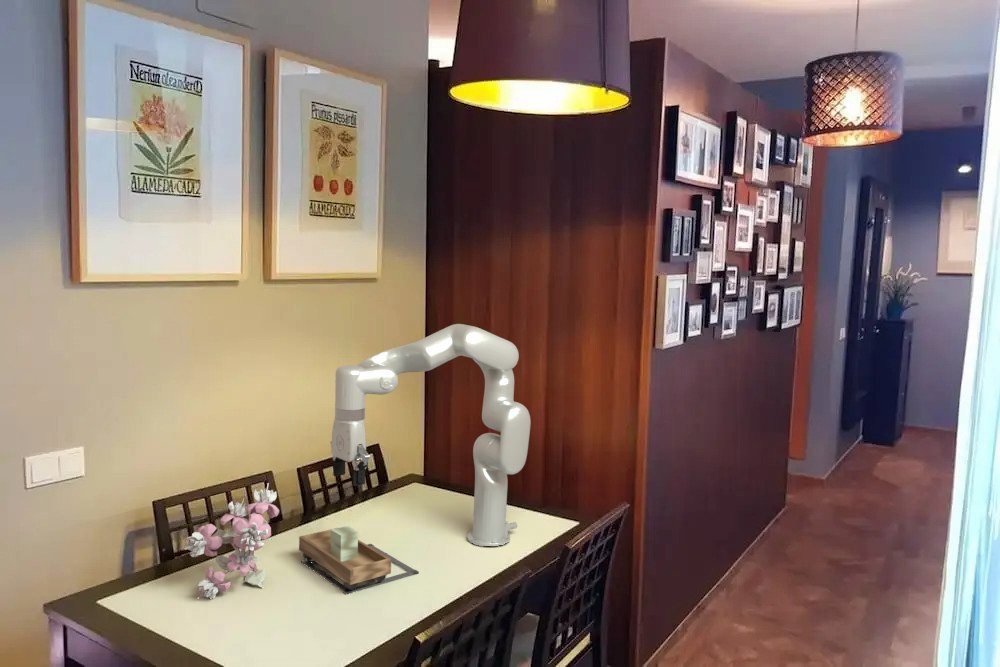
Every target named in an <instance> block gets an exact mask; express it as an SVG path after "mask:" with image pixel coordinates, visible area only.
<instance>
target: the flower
mask: <svg viewBox="0 0 1000 667" xmlns="http://www.w3.org/2000/svg"><path fill="white" fill-rule="evenodd" d="M266 484H267V486H266V488H264V489H262V488H261V489H260V490H259V491H257V489H256V488H255V489H254V492H253V499H254V500H255V501H256V502H254V503H250V504H247V505H246V503H244V501H245V497H243V498H242V501H241V503H240V502H238V501H237V502H235V505H234V502H233V501H230V502H229V503H228V506H227V508H228V510H229V513H225V514H224V515H222V516H221V518H220V525H221V526H225V525H226V524H227V523H228V522H229V521H231V520H232V524H231V527H230V529H229V530H227V531H226V530H223V529H221V528H219V529H218V530H217V527H216V526H215V525H214V524H212V523H209V524H208V523H207V524H205V525H202V526H200V527H198V528H197V531H194V532H193V533H192V534H191V536H188V537H185V538H186V540H189V541H186V544H187V545H185V547H184V548H182V549H183V550H185V551H190V552H189V555H190V556H191V557H192V558H197V557H199V556H201V555H203V554H204V555H205V556H207V557H215V556H216V557H215V565H217V566H218V567H219V568H220V569H222V570H221V571H220V570H219V571H215V572H213V569H214V566H210V567H208V568H207V569H206V570H205V578H206V579H203V580H201V581H199V583H198V588H197V589H198V590H197V591H198V592H199V593H198V594H202V595H203V598H205V597H206V598H208V599H209V598H211V599H210V600H213V599H214V598H213V597H215V598H216V594H218V592H219V591H220V592H226V591H230V588H231V585H232V582H231V581H229V582H224V579H225V577H226V574H227V573H229V572H230V573H233V572H236V571H239V576H244V581H245V582H246V583H249V584H251V585H252V586H259V587H260V588H261V587H264V585H263V582H264V580H265V579H266V578H267V573H268V570H267V569H260V570H259V568H257V563H256V562H257V561H259V560H260V558H259V557H257V556H255V551H258V550H259V549H262V548H263V546H265V543H264V542H262V540H263V541H264V540H268V539H269V538H270V537H271V536H272V527H271V526H270V524H269V522H268V521H267V520H265V518H264V517H263V514H264V513H265V512H266V513H267V514H266V515H267V517H268V518H269V519H273V518H276V517H277V516H278V515H279V514H280V509H279V508H278V507H277V506H276V505H274V504H272V503H273V502H275V501H276V499H277V496H278V495H277V491H274V489H271V490H269V484H270V483H269V482H268V483H266ZM243 504H244V505H243ZM250 513H251V514H250ZM246 516H249V519H248V518H245V517H246ZM216 530H217V531H216ZM223 544H225V545H226V544H230V545H231V546H232V547H233V549H234V551H233V552H232V553H231V554H230V555H228V557H227V556H224V555H222V554H221V555H218V551H216V550H218V549H219V548H220V547H221V546H222V545H223ZM246 548H248V549H246ZM213 550H214V551H213ZM223 571H225V573H224V572H223ZM245 582H244V583H245ZM212 598H213V599H212ZM199 599H200V596H199V597H197V600H199Z"/></svg>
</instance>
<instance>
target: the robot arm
mask: <svg viewBox="0 0 1000 667" xmlns="http://www.w3.org/2000/svg"><path fill="white" fill-rule="evenodd" d="M460 356H463V357H467V358H470V359H472V360H473V361H474V362H475V363H476V364H477V366H479V368H480V369H481V371H482V373H483V376H484V393H483V401H482V409H481V411H482V412H481V419H482V422H483V424H484V425H485V426H486V427H487V428H488V429H491V430H494V431H496V432H499V433H500V434H498V433H493V432H487V433H483V434H481V435H480V436H478V437H477V438H476V440H475V441H474V443H473V449H472V456H473V458H472V459H473V464H474V494H473V496H474V498H473V499H474V500H473V520H472V526H473V527H472V530H470V531H469V532H467V538H466V539H467V541H468V542H469V543H471V544H472V543H473V545H474V546H475V545H476V546H478V545H479V547H483V546H497V545H502V544H504V543H506V542H508V541H509V540H510V541H511V535H510V533H509V531H511V530H512V531H513V530H514V529H517V528H518V523H517V522H516V521H513V522H508V521H507V502H508V501H507V500H508V483H509V482H508V475H515V474H518V473H519V472H520V471H522V469H523V468H524V466H525V464H526V461H527V456H528V452H529V451H528V450H529V443H530V434H531V433H530V432H531V415H530V411H529V410H528V408H527V407H526V406H525V405H524V404H522V403H520V402H517V401H514V398H515V397H514V392H515V374H514V371H513V368H515V367H516V365H518V362H519V356H520V354H519V350H518V348H517V346H516V345H515V344H514V343H513V342H512V341H510V340H507V339H505V338H502V337H500V336H498V335H496V334H493V333H491V332H490V331H487V330H484V329H482V328H479V327H477V326H473V325H467V324H464V323H463V324H462V323H456V324H451V325H449V326H446V327H445V328H443V329H440V330H438V331H436V332H434V333H432V334H430V335H428V336H426V337H424V338H421V339H418V340H417V341H414V342H411V343H407V344H403V345H401V346H396V347H392V348H390V349H386V350H384V351H381V352H378V353H376V354H374V355H373V356H372V355H371V356H370V357H367V358H366V359H364V360H362V361H361V362H360V363H358V364H357V365H342V366H338V368H336V370H335V380H334V381H335V382H334V383H335V388H334V389H335V396H334V399H335V400H334V401H335V402H334V419H333V424H332V433H331V440H330V446H331V447H330V449H331V451H330V452H331V454H332V461H333V466H332V467H333V469H332V470H333V471H332V472H333V476H334V477H340V476H344V475H345V474H346V463H350V462H352V465H353V468H354V469H353V471H352V486H354V487H356V486H362V485H365V484H366V470H367V466H369V465H368V464H369V460H370V454H369V452H368V451H367V437H366V436H367V435H366V425H365V421H366V395H377V396H379V395H384V396H385V395H388V394H390V393H393V391H395V390H396V389H397V386H398V384H399V376H398V375H399V374H405V373H423V372H428V371H431V370H434V369H435V368H437V367H440V366H441V365H443V364H445V363H447V362H450V361H451V360H453V359H455V358H457V357H460Z"/></svg>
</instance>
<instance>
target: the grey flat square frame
mask: <svg viewBox="0 0 1000 667" xmlns="http://www.w3.org/2000/svg"><path fill="white" fill-rule="evenodd" d="M367 545H368V546H370V547H372V548H373V549H375V550H377V551H378V552H380V553H382V554H384V555H385V556H387V557H389V558H390V559H391V564H394V565H395V566H397V567H399V568H400V569H402V570H404V571H406V572H403V573H399V574H396V575H393V576H389V577H385V579H384V580H383V581H381V582H378V581H377V580H375V581H370V582H368V583H364V584H361V585H358V586H357V587H356V588H355V589H353V590H350V589H348V588H347V587H346V586H345V584H344V583H342V582H340V581H339V580H338V579H336V578H335V577H333V576H331V575H330V574H329V573H327V572H326V571H324V569H321V568H320V567H319V566H317V565H316V564H314V563H315V560H313V559H312V560H306V559H304V560H300V563H301V564H302V563H303V564H305V566H306V565H307V566H308V567H307V566H306V567H307V568H309V567H310V568H311V569H310V568H309V569H310V570H311V571H313V570H314V571H315V572H314V571H313V572H314V573H316V572H317V573H318V574H317V573H316V574H317V575H319V576H320V575H321V576H322V577H321V576H320V577H321V578H323V579H324V578H325V579H324V580H326V581H327V582H328V583H330V584H331V583H332V585H333V586H334V587H336V588H337V589H338V588H339V589H338V590H340V591H341V592H342V593H343V594H344V593H345V594H344V595H346V594H347V595H349V593H350V594H353V592H354V593H357V592H360V591H363V589H364V590H366V589H371V588H374V587H377V586H378V587H379V586H380V585H383V584H387V583H391V582H394V581H398V580H401V579H405V578H408V577H412V576H414V575H415V576H416V575H419V573H420V571H419V570H417V569H414V568H412V567H411V566H409V565H407V564H406V563H404V562H402V561H400V560H398V559H397V558H395V557H394V556H392V555H390V554H388V553H386V552H385V551H383V550H381V549H379V547H376V546H375V545H374V544H372V543H368V544H367ZM311 562H312V563H311ZM303 564H302V565H303ZM356 591H357V592H356Z"/></svg>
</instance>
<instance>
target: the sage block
mask: <svg viewBox="0 0 1000 667" xmlns="http://www.w3.org/2000/svg"><path fill="white" fill-rule="evenodd" d="M331 529H332V530H331V553H330V554H331V555H332V556H334V557H335V558H337V559H338V560H340V561H341V562H343V561H347V560H351V559H354V558H358V540H359V530H356V529H354V528H353V527H351V526H349V525H346V526H341V527H336V529H335V528H331Z"/></svg>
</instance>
